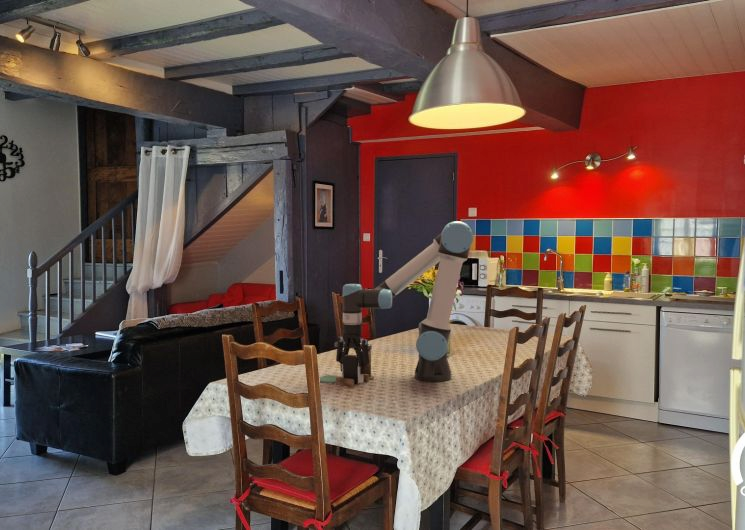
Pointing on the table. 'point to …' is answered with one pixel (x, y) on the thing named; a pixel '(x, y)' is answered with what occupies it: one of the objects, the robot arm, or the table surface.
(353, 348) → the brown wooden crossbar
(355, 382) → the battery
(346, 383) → the cradle
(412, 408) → the table surface
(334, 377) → the mat
